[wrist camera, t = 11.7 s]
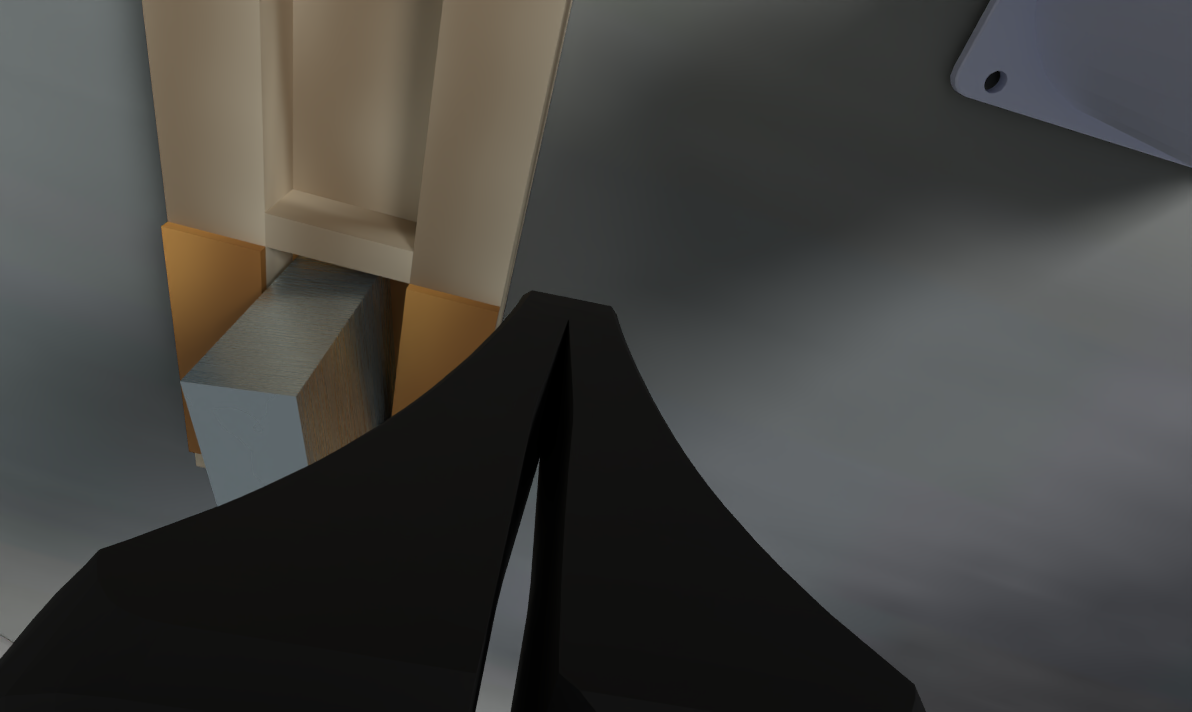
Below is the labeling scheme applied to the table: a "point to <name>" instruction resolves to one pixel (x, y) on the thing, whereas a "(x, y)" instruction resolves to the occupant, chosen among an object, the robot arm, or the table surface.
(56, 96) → the table surface
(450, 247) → the rack
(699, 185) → the table surface
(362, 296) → the brushed gray metal block
